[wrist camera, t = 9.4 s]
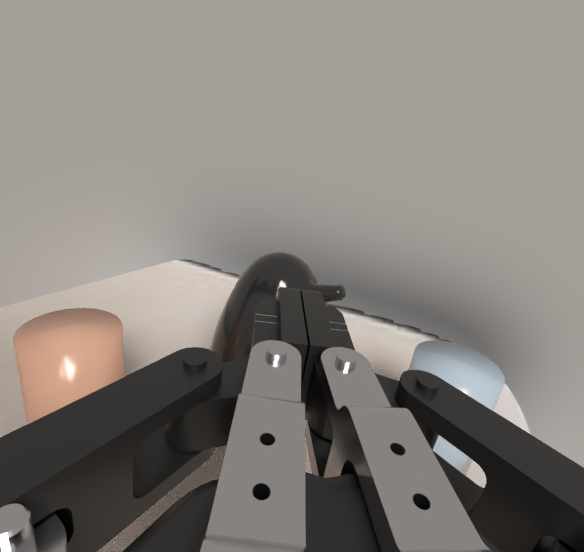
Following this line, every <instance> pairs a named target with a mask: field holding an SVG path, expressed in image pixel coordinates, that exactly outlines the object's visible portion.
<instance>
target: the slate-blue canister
mask: <svg viewBox="0 0 584 552" xmlns="http://www.w3.org/2000/svg"><path fill="white" fill-rule="evenodd" d="M409 370H422V371H426V372H429V373H432V374H434V375H436V376H438V377H439V378H441V379H443V380H444V381H446V382H447V383H449V384H451V385H452V386H454V387H455V388H457V389H459V390H460V391H462V392H463V393H465V394H467V395H468V396H470V397H471V398H473V399H475V400H476V401H478V402H479V403H481V404H483V405H484V406H486V407H487V408H489V409H491V410H492V411H493V409H494V407H495V404H496V402H497V400H498V397H499V395H500V392H501V390H502V388H503V385H504V382H505V378H504V375H503V373H502V372H501V370H500V369H499V368H498V367H497V366H496V365H495V364H494V363H493V362H492V361H491V360H490V359H488V358H486V357H485V356H483V355H482V354H480V353H478V352H476V351H474V350H472V349H470V348H467V347H465V346H462V345H459V344H455V343H451V342H446V341H436V340H434V341H425V342H422V343H420V344H419V345H417V347H416V348H415V351H414V354H413V358H412V361H411V364H410V368H409ZM433 451H434V452H435V453H437V454H438V455H439V456H441V457H442V458H443V459H444V460H446V461H447V462H448V463H450V464H451V465H452V466H453V467H455V468H456V469H457V470H459V471H460V472H461V473H462V474H464V475H465V476H466V474H467V472H468V469H469V467H470V464H471V462H472V459H471V458H469V457H468V456H467V455H465V454H464V453H463V452H461V451H460V450H459V449H457V448H456V447H454V446H453V445H452V444H450V443H449V442H448V441H446V440H445V439H444V438H442V437H441V436H440V435H439V436H438V438H437V441H436V443H435V446H434V448H433Z"/></svg>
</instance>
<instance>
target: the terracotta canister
mask: <svg viewBox="0 0 584 552" xmlns="http://www.w3.org/2000/svg"><path fill="white" fill-rule="evenodd" d="M13 342H14V348H15V354H16V359H17V365H18V371H19V377H20V383H21V389H22V395H23V401H24V407H25V413H26V419H27V424H29V423H31V422H33V421H35V420H37V419H39V418H41V417H44V416H46V415H48V414H50V413H52V412H54V411H56V410H58V409H60V408H62V407H64V406H66V405H68V404H70V403H72V402H74V401H76V400H78V399H80V398H82V397H84V396H86V395H89V394H91V393H93V392H95V391H97V390H99V389H101V388H103V387H105V386H107V385H109V384H111V383H113V382H115V381H117V380H119V379H121V378H123V377H124V356H123V332H122V323H121V321H120V319H119V318H118V317H117V316H115V315H114V314H112V313H109V312H106V311H103V310H98V309H89V308H76V309H66V310H60V311H55V312H51V313H47V314H44V315H41V316H39V317H36V318H34V319H32V320H30V321H28V322H27V323H25V324H24V325H22V326H21V327H20V328H19V329H18V330H17V331H16V333H15V335H14V338H13Z"/></svg>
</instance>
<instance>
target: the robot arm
mask: <svg viewBox="0 0 584 552" xmlns="http://www.w3.org/2000/svg"><path fill="white" fill-rule="evenodd" d="M305 412H307V416H308V419H307V423H306V428H305ZM439 435H440V436H441V437H442V438H444V439H445V440H446V441H448V442H449V443H450V444H452V445H453V446H454V447H456V448H457V449H459V450H460V451H461V452H463V453H464V454H465V455H467V456H468V457H469V458H471V459H472V460H473V461H475V462H476V463H477V464H478V465H479V466H480V467H481V468H482V469H483V471H484V473H485V475H486V479H487V482H486V486H485V488H482V487H480V486H478V485H477V484H475V483H474V482H473V481H471V480H470V479H469V478H468V477H466V476H465V475H464V474H462V473H461V472H460V471H459V470H457V469H456V468H455V467H453V466H452V465H451V464H450V463H448V462H447V461H446V460H444V459H443V458H442V457H441V456H439V455H438V454H437V453H435V452H434V451H433V448H434V446H435V443H436V441H437V438H438V436H439ZM305 438H306V443H307V449H308V454H309V459H310V464H311V470H312V474H310V473H307V472H305ZM225 445H227V447H226V451H225V455H224V460H223V464H222V468H221V472H220V477H219V479H217V480H214V481H211V482H208V483H206V484H204V485H201V486H199V487H198V488H196V489H194V490H192V491H191V492H189V493H188V494H186V495H185V496H184V497H182V498H181V499H179V500H178V501H177V502H176V503H175V504H173V505H172V506H171V507H170V508H169V509H168V510H167V511H166V512H165V513H164V514H163V515H161V516H160V517H159V518H158V519H157V520H156V521H155V522H154V523H153V524H152V525H151V526H150V527H149V528H148V529H146V530H145V531H144V532H143V533H142V534H141V535H140V536H139V537H138V538H137V539H136V540H135V541H134V542H133V543H131V544H130V545H129V546H128V547H127V548H126V549H125V550H124V551H123V552H584V468H583V467H581V466H580V465H578V464H577V463H575V462H574V461H572V460H570V459H569V458H567V457H565V456H564V455H562V454H561V453H559V452H558V451H556V450H554V449H552V448H551V447H549V446H548V445H546V444H545V443H543V442H542V441H540V440H538V439H537V438H535V437H534V436H532V435H530V434H529V433H527V432H526V431H524V430H522V429H521V428H519V427H518V426H516V425H514V424H513V423H511V422H510V421H508V420H506V419H505V418H503V417H502V416H500V415H498V414H497V413H495V412H494V411H492V410H491V409H489V408H487V407H486V406H484V405H483V404H481V403H479V402H478V401H476V400H475V399H473V398H471V397H470V396H468V395H467V394H465V393H463V392H462V391H460V390H459V389H457V388H455V387H454V386H452V385H451V384H449V383H447V382H446V381H444V380H443V379H441V378H439V377H438V376H436V375H434V374H432V373H429V372H426V371H422V370H408V371H405V372H404V373H402V375H401V377H400V380H399V381H396V380H393V379H390V378H387V377H383V376H381V375H378V374H376V373H374V371H373V369H372V367H371V365H370V363H369V361H368V360H367V359H366V358H365V357H364V356H363V355H362V354H360V353H358V352H357V351H355V349H354V346H353V343H352V340H351V337H350V335H349V332H348V329H347V326H346V324H345V320H344V317H343V314H342V313H341V312H340V311H338V310H337V309H336V308H335V307H333V306H325V303H324V300H323V296H322V292H320V291H311V290H303V289H301V290H300V289H294V288H285V287H279V289H278V295H277V300H271V299H262V300H261V301H260V302H259V303H258V304H257V305H256V313H255V321H254V329H253V336H252V345H251V352H250V353H249V354H248V355H247V356H246V357H244V358H242V359H240V360H236V361H232V362H224V363H223V361H222V359H221V357H220V356H219V355H218V354H217V353H215V352H213V351H211V350H209V349H205V348H197V347H193V348H185V349H182V350H179V351H176V352H174V353H172V354H170V355H168V356H166V357H164V358H162V359H160V360H158V361H156V362H154V363H152V364H150V365H148V366H146V367H144V368H142V369H140V370H138V371H136V372H134V373H131V374H129V375H127V376H125V377H123V378H121V379H119V380H117V381H115V382H113V383H111V384H109V385H107V386H105V387H103V388H101V389H99V390H97V391H95V392H93V393H91V394H89V395H86V396H84V397H82V398H80V399H78V400H76V401H74V402H72V403H70V404H68V405H66V406H64V407H62V408H60V409H58V410H56V411H54V412H52V413H50V414H48V415H46V416H44V417H41V418H39V419H37V420H35V421H33V422H31V423H29V424H27V425H25V426H23V427H21V428H19V429H17V430H15V431H13V432H11V433H9V434H7V435H5V436H3V437H1V438H0V552H97V551H98V550H99V549H101V548H102V547H103V546H104V545H105V544H107V543H108V542H109V541H110V540H111V539H113V538H114V537H115V536H116V535H117V534H119V533H120V532H121V531H122V530H123V529H125V528H126V527H127V526H128V525H129V524H131V523H132V522H133V521H134V520H135V519H137V518H138V517H139V516H140V515H141V514H143V513H144V512H145V511H146V510H148V509H149V508H150V507H151V506H152V505H154V504H155V503H156V502H157V501H158V500H160V499H161V498H162V497H163V496H164V495H166V494H167V493H168V492H169V491H170V490H172V489H173V488H174V487H175V486H176V485H178V484H179V483H180V482H181V481H182V480H184V479H185V478H186V477H187V476H188V475H190V474H191V473H192V472H193V471H194V470H196V469H197V468H198V467H199V466H200V465H202V464H203V463H204V462H205V461H206V460H208V459H209V458H210V457H211V455H212V454H213V452H214V450H215V447H220V446H225Z"/></svg>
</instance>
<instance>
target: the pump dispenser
mask: <svg viewBox="0 0 584 552" xmlns="http://www.w3.org/2000/svg"><path fill="white" fill-rule="evenodd" d="M279 287H285V288H294V289H300V290H301V289H303V290H311V291H320V292H322V296H323V300H324V302H332V301H340V300H343V299H344V297H345V288H344V287H343V286H342V285H324V284H323V285H322V284H318V282H317V279H316V277H315V275H314V273H313V271H312V269H311V268H310V266H309V265H308V264H307V263H306V262H305V261H304V260H303V259H301V258H300V257H298V256H296V255H294V254H291V253H288V252H271V253H267V254H265V255H262V256H260V257H259V258H257V259H256V260H255V261H254V262H252V264H251V265H250V266H249V267H248V268H247V269H246V270H245V272H244V273H243V274H242V276H241V277H240V279H239V280H238V282H237V283H236V285H235V287H234V289H233V290H232V292H231V294H230V296H229V298H228V300H227V302H226V304H225V307H224V309H223V311H222V314H221V316H220V319H219V321H218V324H217V327H216V330H215V333H214V336H213V339H212V343H211V347H210V350H211V351H213V352H215V353H217V354H218V355H219V356H220V357H221V359H222V361H223V363H224V362H232V361H236V360H240V359H242V358H244V357H246V356H247V355H248V354H249V353H250V352H251V345H252V336H253V329H254V321H255V313H256V305H257V304H258V303H259V302H260V301H261V300H262V299H271V300H277V295H278V289H279ZM307 419H308V416H307V412H305V426H306V423H307Z"/></svg>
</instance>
